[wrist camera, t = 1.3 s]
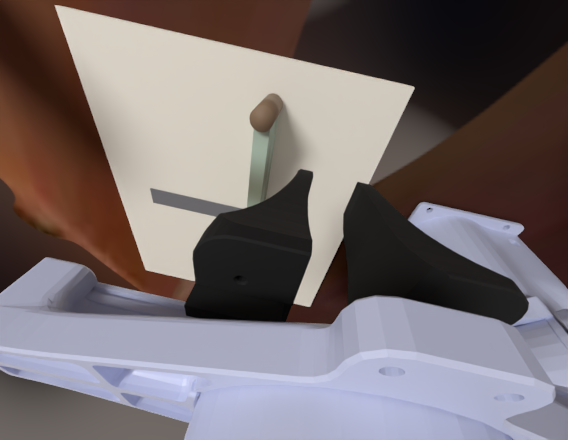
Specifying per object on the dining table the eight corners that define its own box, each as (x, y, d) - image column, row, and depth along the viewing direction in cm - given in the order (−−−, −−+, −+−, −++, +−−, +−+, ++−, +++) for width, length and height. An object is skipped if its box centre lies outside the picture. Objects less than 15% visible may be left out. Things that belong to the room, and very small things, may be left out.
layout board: (412, 86, 15) (415, 87, 15) (310, 303, 33) (309, 307, 33) (61, 5, 15) (53, 4, 15) (147, 267, 33) (145, 270, 33)
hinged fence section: (265, 214, 23) (256, 242, 20) (251, 211, 23) (240, 239, 20) (284, 95, 16) (274, 110, 13) (264, 91, 16) (250, 104, 13)
